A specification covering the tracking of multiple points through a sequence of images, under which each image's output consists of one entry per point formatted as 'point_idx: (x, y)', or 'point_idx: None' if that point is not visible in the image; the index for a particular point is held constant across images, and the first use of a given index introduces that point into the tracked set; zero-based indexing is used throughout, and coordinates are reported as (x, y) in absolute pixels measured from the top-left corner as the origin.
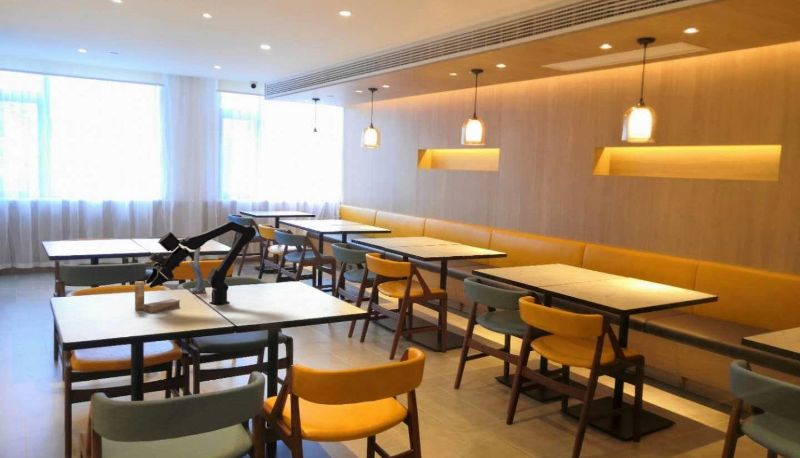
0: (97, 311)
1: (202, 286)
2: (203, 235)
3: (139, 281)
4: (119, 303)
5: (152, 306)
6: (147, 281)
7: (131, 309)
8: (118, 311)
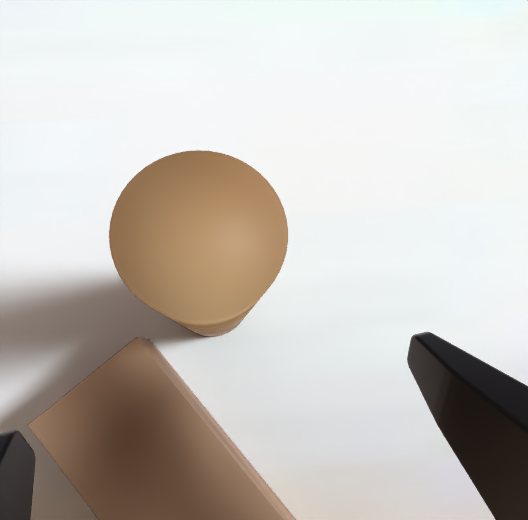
0: (223, 29)
1: None
2: None
3: (265, 226)
4: (464, 147)
5: (35, 429)
6: (431, 367)
7: None
8: None
